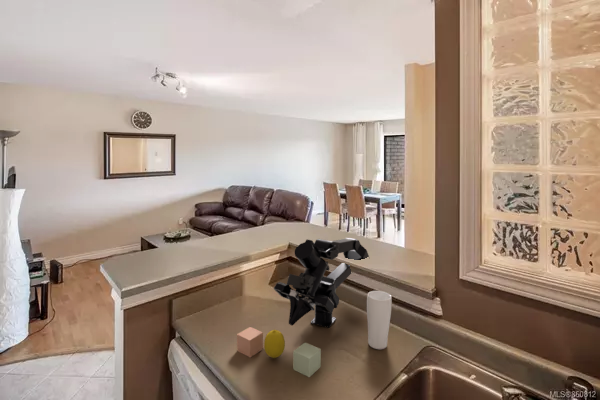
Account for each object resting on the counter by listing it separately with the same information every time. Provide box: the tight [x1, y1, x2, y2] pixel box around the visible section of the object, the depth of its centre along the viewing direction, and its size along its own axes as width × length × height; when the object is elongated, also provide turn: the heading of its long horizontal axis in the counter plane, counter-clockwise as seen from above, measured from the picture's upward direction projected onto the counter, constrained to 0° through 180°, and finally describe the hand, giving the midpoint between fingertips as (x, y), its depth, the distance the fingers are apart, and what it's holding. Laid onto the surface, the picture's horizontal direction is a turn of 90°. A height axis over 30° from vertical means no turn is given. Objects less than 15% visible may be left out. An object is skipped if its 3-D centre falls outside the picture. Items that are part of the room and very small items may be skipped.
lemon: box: [263, 329, 286, 359], centre depth 85 cm, size 6×6×8 cm
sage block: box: [292, 342, 322, 378], centre depth 81 cm, size 5×5×5 cm
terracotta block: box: [236, 326, 264, 358], centre depth 89 cm, size 5×5×5 cm
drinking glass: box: [366, 290, 393, 350], centre depth 91 cm, size 7×7×15 cm
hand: (290, 324), depth 90 cm, fingers closed
